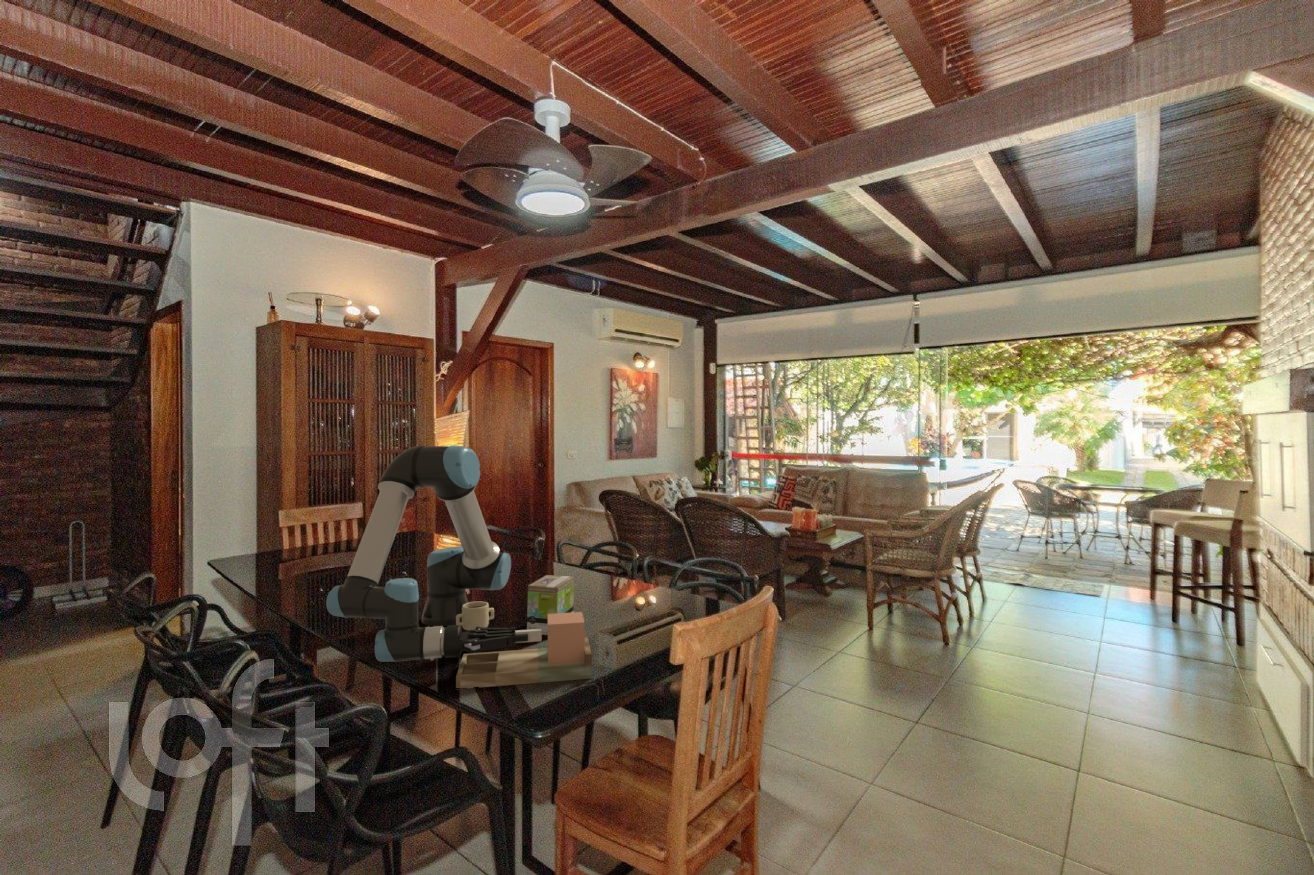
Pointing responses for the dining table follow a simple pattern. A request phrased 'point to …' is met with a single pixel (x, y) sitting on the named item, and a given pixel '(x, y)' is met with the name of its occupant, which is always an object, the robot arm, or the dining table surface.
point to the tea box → (549, 600)
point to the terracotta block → (566, 638)
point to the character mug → (475, 616)
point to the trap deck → (518, 668)
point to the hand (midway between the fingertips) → (541, 634)
